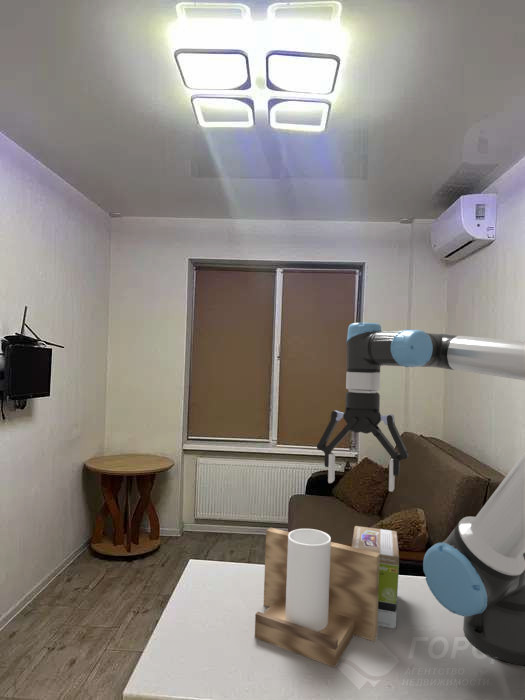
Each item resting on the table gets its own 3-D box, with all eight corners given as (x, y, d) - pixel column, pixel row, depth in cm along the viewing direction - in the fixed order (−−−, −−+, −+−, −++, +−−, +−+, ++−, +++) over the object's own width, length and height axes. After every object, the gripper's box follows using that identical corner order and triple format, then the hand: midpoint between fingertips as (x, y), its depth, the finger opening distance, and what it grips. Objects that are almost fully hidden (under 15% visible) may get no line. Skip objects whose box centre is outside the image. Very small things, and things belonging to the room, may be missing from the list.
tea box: (397, 630, 91) (400, 555, 92) (346, 621, 94) (348, 548, 94) (395, 593, 106) (397, 529, 106) (351, 586, 109) (353, 523, 109)
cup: (330, 612, 92) (333, 531, 92) (324, 636, 84) (327, 547, 84) (290, 605, 94) (292, 526, 94) (280, 627, 86) (284, 541, 86)
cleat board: (377, 636, 89) (379, 553, 90) (357, 675, 78) (360, 580, 78) (267, 601, 101) (270, 527, 101) (236, 631, 89) (239, 548, 90)
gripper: (422, 393, 102) (420, 489, 102) (315, 387, 113) (313, 475, 112) (418, 395, 96) (416, 498, 95) (305, 389, 106) (302, 481, 105)
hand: (360, 485), depth 104 cm, fingers open, 13 cm apart
